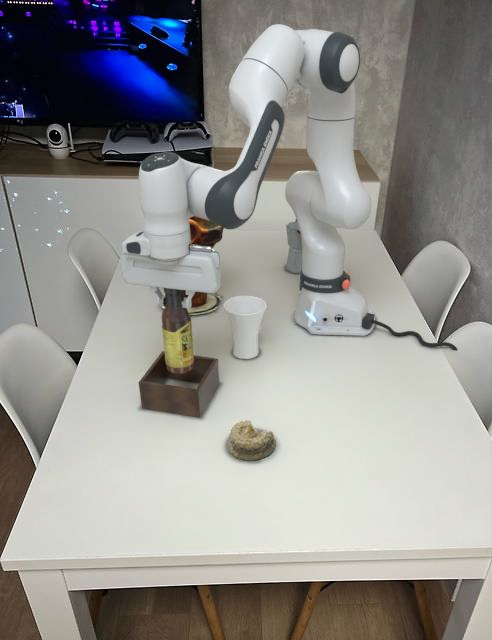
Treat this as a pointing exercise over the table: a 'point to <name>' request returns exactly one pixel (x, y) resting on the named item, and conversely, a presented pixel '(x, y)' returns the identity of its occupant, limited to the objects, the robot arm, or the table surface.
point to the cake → (250, 442)
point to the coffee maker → (294, 248)
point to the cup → (245, 324)
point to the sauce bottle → (177, 333)
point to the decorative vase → (209, 236)
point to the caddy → (175, 396)
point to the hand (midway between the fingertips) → (174, 306)
